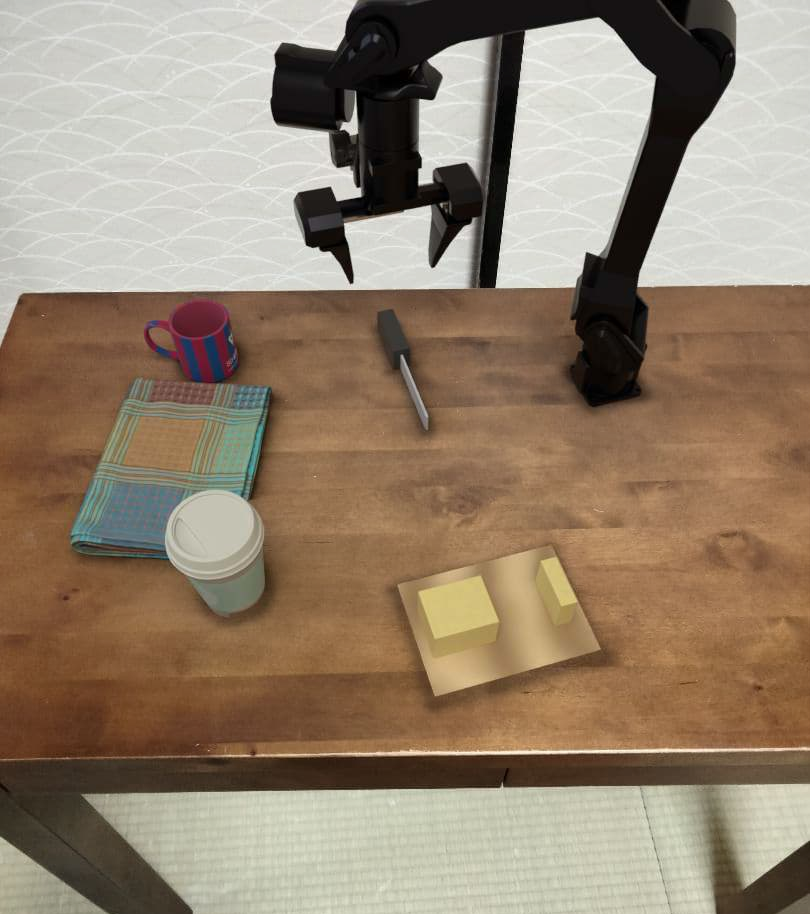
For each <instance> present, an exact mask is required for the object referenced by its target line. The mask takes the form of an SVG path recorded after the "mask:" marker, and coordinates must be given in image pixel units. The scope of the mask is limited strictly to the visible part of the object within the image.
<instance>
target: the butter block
mask: <svg viewBox="0 0 810 914" xmlns="http://www.w3.org/2000/svg"><path fill="white" fill-rule="evenodd" d="M418 615H419V618H420V621H421V624H422V627H423V629H424V632H425V635H426V638H427V641H428V644H429V647H430V650H431V653H432V655H433V658H438V657H441V656H445V655H448V654H452V653H456V652H459V651H463V650H467V649H470V648H474V647H478V646H481V645H485V644H488V643H492V642H495V641H496V636H497V631H498V626H499V619H498V617H497V614H496V612H495V609H494V607H493V604H492V602H491V599H490V597H489V594H488V592H487V590H486V587H485V585H484V582H483V580H482V577H481V575H480V576H476V577H472V578H468V579H464V580H460V581H457V582H453V583H449V584H445V585H441V586H438V587H434V588H430V589H426V590H422V591H419V592H418Z"/></svg>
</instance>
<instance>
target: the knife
mask: <svg viewBox="0 0 810 914" xmlns="http://www.w3.org/2000/svg"><path fill="white" fill-rule="evenodd" d="M376 319H377V332H378V335H379V337H380V340H381V342H382V345H383V347H384V350H385V353H386V355H387V357H388V360H389V362H390V365H391V367H392V369H393V371H396V370H400V371H401V373H402V376H403V378H404V381H405V383H406V386H407V388H408V391H409V393H410V396H411V398H412V401H413V403H414V405H415V408H416V410H417V413H418V415H419V417H420V421H421V422H422V425H423V428H424V430H425V431H428V430H429V414H428V412H427V410H426V407H425V405H424V403H423V402H424V401H423V400H422V398H421V396H420V393H419V390H418V388H417V385H416V383H415V380H414V378H413V376H412V374H411V371H410V369H409V367H410V365H411V364H410V362H411V361H410V356H411V355H410V351H411V350H410V348H411V347H410V346H409V344H408V341H407V338H406V336H405V334H404V332H403V329H402V326H401V324H400V322H399V319H398V317H397V314H396V313H395V311H394V308H389V309H385V310H380V311H377V312H376Z"/></svg>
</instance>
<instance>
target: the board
mask: <svg viewBox="0 0 810 914" xmlns="http://www.w3.org/2000/svg"><path fill="white" fill-rule="evenodd" d="M553 557H557V559H558V561H559V563H560V565H561V567H562V569H563V572H564V574H565V576H566V578H567V580H568V582H569V584H570V586H571V589H572V591H573V593H574V595H575V597H576V599H577V601H578V603H577V605H576V608H575V611H574V614H573V617H572V620H571V622H570V623H567V624H564V625H560V626H556V627H555V626H554V624H553V622H552V620H551V617H550V615H549V613H548V611H547V609H546V606H545V604H544V602H543V600H542V597H541V595H540V593H539V591H538V588H537V586H536V584H535V581H536V577H537V573H538V569H539V565H540V561H542V560H546V559H549V558H553ZM480 575H481V577H482V580H483V582H484V585H485V587H486V590H487V592H488V594H489V597H490V599H491V602H492V604H493V607H494V609H495V612H496V614H497V617H498V619H499V626H498V631H497V636H496V641H495V642H492V643H488V644H485V645H481V646H478V647H474V648H470V649H467V650H463V651H459V652H456V653H452V654H448V655H445V656H441V657H438V658H433V655H432V653H431V650H430V647H429V644H428V641H427V638H426V635H425V632H424V629H423V627H422V624H421V621H420V618H419V615H418V592H419V591H422V590H426V589H430V588H434V587H438V586H441V585H445V584H449V583H453V582H457V581H460V580H464V579H468V578H472V577H476V576H480ZM396 586H397V588H398V589H397V590H398V592H399V594H400V597H401V601H402V604H403V607H404V609H405V612H406V615H407V619H408V622H409V624H410V627H411V631H412V633H413V636H414V638H415V642H416V645H417V648H418V650H419V654H420V658H421V660H422V662H423V666H424V669H425V672H426V674H427V677H428V680H429V683H430V686H431V689H432V692H433V695H434V697H439V696H442V695H447V694H449V693H453V692H456V691H460V690H463V689H468V688H470V687H474V686H477V685H482V684H484V683H489V682H491V681H495V680H499V679H503V678H506V677H510V676H513V675H516V674H519V673H524V672H527V671H531V670H535V669H538V668H542V667H544V666H549V665H552V664H556V663H559V662H563V661H566V660H570V659H573V658H577V657H580V656H584V655H588V654H590V653H594V652H599V651H601V650H602V649H601V645H600V644H599V642H598V639H597V637H596V635H595V633H594V631H593V629H592V627H591V625H590V623H589V620H588V618H587V616H586V614H585V612H584V610H583V607H582V606H581V603H580V602H579V599H578V597H577V595H576V593H575V590H574V589H573V587H572V584H571V582H570V580H569V578H568V576H567V574H566V572H565V570H564V568H563V566H562V563H561V561H560V559H559V557H558V555H557V552H556V551H555V548H554V547H553V545H552V544H548V545H545V546H541V547H537V548H533V549H529V550H525V551H521V552H518V553H513V554H510V555H506V556H501V557H498V558H494V559H491V560H487V561H483V562H479V563H475V564H471V565H467V566H464V567H459V568H455V569H451V570H448V571H444V572H440V573H436V574H433V575H429V576H425V577H420V578H417V579H413V580H409V581H405V582H401V583H398V584H397V585H396Z"/></svg>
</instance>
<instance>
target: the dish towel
mask: <svg viewBox="0 0 810 914" xmlns="http://www.w3.org/2000/svg"><path fill="white" fill-rule="evenodd" d="M272 400H273V388H272V386H271V385H254V384H235V383H221V382H220V383H218V382H214V383H200V382H196V381H184V380H180V381H178V380H168V379H165V380H161V379H149V378H144V377H139V376H138V377H136V378H135V379H134V380H133V381H132V382H131V383H130V385H129V387H128V390H127V393H126V395H125V399H124V400H123V402H122V405H121V407H120V409H119V411H118V413H117V416H116V419H115V422H114V424H113V427H112V429H111V432H110V434H109V437H108V438H107V441H106V443H105V446H104V449H103V452H102V455H101V456H100V460H99V461H98V464H97V467H96V469H95V472H94V474H93V477H92V479H91V482H90V485H89V487H88V489H87V491H86V494H85V495H84V499H83V502H82V504H81V506H80V508H79V511H78V513H77V515H76V517H75V519H74V522H73V526H72V529H71V531H70V534H69V539H70V544H69V546H70V548H71V549H72V550H73V551H75V552H77V553H81V554H83V555H87V556H88V555H89V556H104V557H131V558H151V559H152V558H153V559H154V558H155V559H166V560H170V559H169V557H168V555H167V551H166V545H165V533H166V529H167V524H168V521H169V518H170V516H171V514H172V512H173V511H174V509H175V508H176V507H177V506H178V505H179V504H180V503H181V502H182V501H184V500H185V499H187V498H188V497H190V496H192V495H194V494H196V493H199V492H203V491H207V490H225V491H229V492H232V493H235V494H237V495H239V496H240V497H242V498H243V499H244V500H245V501H247V502H248V503H249V501H250V500H251V496H252V491H253V487H254V482H255V478H256V473H257V470H258V465H259V459H260V456H261V447H262V442H263V438H264V433H265V427H266V423H267V419H268V415H269V411H270V406H271V403H272Z"/></svg>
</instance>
